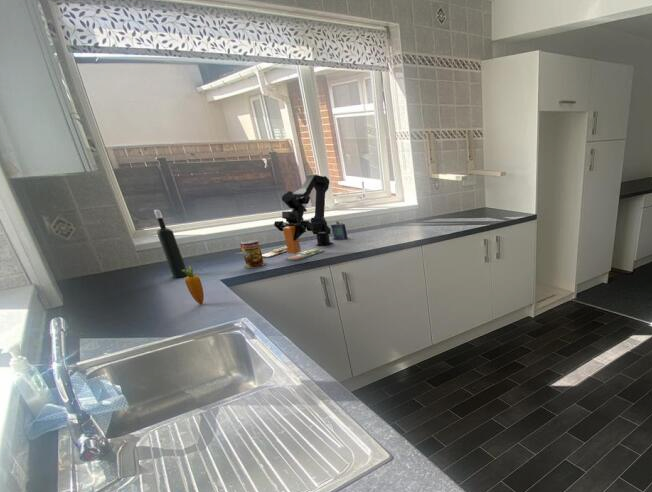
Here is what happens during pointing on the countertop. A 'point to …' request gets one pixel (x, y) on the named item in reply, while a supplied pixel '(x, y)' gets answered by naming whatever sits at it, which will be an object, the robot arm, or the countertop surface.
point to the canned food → (252, 253)
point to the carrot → (194, 286)
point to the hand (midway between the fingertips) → (290, 240)
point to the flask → (338, 231)
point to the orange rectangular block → (291, 240)
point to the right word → (305, 254)
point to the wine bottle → (170, 248)
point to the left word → (275, 252)
